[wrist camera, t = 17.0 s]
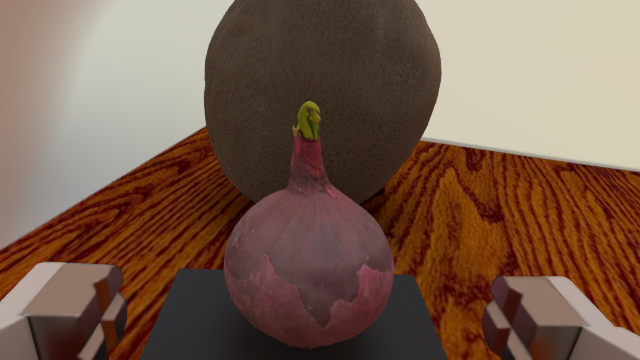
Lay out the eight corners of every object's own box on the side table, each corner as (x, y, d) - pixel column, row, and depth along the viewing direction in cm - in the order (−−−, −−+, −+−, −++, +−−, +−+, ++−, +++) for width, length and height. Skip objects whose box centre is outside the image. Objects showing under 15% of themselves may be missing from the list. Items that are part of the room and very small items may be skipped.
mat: (104, 452, 13) (102, 444, 13) (178, 274, 21) (178, 268, 21) (480, 452, 14) (482, 444, 14) (412, 281, 22) (413, 274, 22)
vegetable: (226, 296, 19) (221, 77, 15) (355, 287, 21) (381, 82, 17) (225, 417, 14) (216, 127, 10) (400, 394, 15) (455, 129, 11)
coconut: (383, 291, 21) (437, -47, 15) (160, 221, 26) (134, -58, 20) (430, 189, 33) (471, -22, 27) (272, 153, 38) (277, -33, 32)
